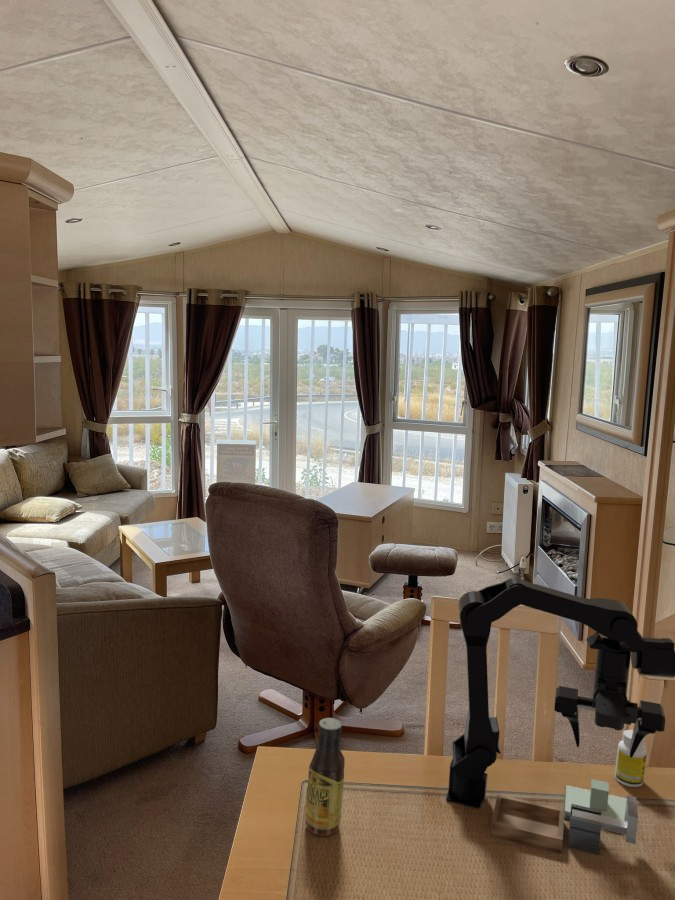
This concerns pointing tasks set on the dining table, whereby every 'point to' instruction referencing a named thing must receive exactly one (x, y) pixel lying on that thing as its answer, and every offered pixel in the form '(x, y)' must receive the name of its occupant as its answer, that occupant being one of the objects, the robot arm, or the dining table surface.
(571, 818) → the lock block
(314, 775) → the sauce bottle
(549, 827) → the case
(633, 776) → the supplement bottle
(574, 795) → the cover
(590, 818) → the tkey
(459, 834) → the dining table surface
